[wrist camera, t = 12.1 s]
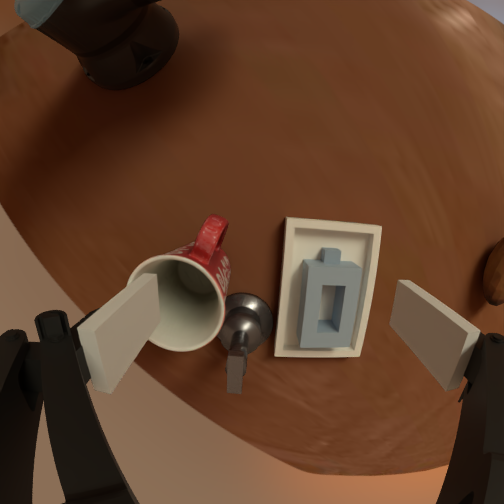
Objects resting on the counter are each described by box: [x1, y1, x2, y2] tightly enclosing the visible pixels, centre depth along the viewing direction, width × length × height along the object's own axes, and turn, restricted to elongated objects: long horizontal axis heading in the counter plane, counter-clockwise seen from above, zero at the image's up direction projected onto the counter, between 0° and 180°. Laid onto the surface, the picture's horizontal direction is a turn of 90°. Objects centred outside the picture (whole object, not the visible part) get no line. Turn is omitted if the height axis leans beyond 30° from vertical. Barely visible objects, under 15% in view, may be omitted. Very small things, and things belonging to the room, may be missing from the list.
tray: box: [274, 217, 382, 357], centre depth 35 cm, size 18×12×2 cm, turn 177°
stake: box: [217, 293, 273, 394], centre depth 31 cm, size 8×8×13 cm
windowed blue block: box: [296, 247, 362, 348], centre depth 34 cm, size 12×6×4 cm, turn 177°
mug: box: [127, 214, 231, 352], centre depth 30 cm, size 13×9×14 cm
